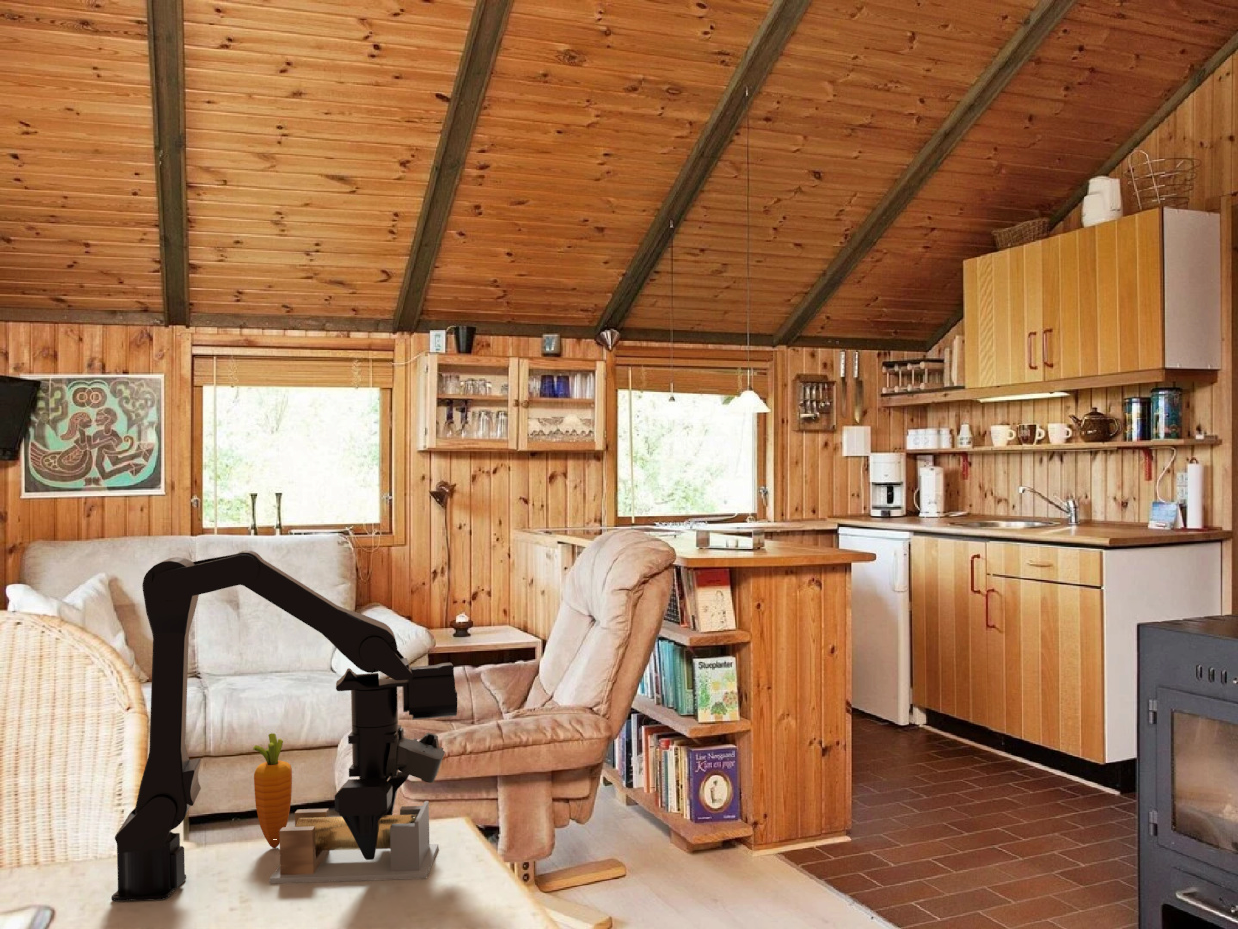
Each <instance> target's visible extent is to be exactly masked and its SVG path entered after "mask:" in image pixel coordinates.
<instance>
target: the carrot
mask: <svg viewBox="0 0 1238 929" xmlns="http://www.w3.org/2000/svg"><path fill="white" fill-rule="evenodd" d="M267 737H268V740H269V743H268V746H267V747H268V748H266V750H265V748H264V747H263V746H260V745H257V744H256V745H254V746H253V751H256V752H259V753H260V754H261V755H262V756H263V757H264V760H265V761H264V762H262V763H260V764H258V765H257V767H256V768H255V771H254V774H253V786H254V787H253V788H254V801H255V809H256V813H257V818H258V819H257V820H258V823H259V827H260V829H261V831H262V833H263V837H264V838H265V840H266V841H267V843H268V845H269V846H270V847H271V848H272V849H277V847H279V846H280V835H279V831H280V830H281V829H282V827H287V825H288V822H289V821H288V820H289V817H290V812H291V811H290V810H291V803H292V802H291V801H292V792H293V785H292V784H293V783H292V782H293V769H292V768H293V767H292V765H291V764H290V763H289V762H287V761H283V760H279V756H280V753H281V751H282V749H283V748H282V747H283V745H284V740H283V739H281V738H277V735H276V734H275V733H273V732H270V733H269V734H268V736H267ZM273 839H277V840H273Z"/></svg>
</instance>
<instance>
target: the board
mask: <svg viewBox="0 0 1238 929" xmlns="http://www.w3.org/2000/svg"><path fill="white" fill-rule="evenodd" d="M429 845H430V847H429V849H428V852H427V854H426V856H425V859H424V861H423V864H422V866H421V868H420V871H391V849H376V852H375V857H374V859H372V860H366V859H365V858H364V856H363V854H362V852H361V850H329V851H328V853H327V854H326V856H325V857H324V859H323V860H322V862H321V863H320V865H319V866H318V868H317V869H316V871H315V872H314V873H313V874H296V875H280V865H279V866H278V867H277V868H276V869H275V871H274V872H273V874H272V875H271V876H270V877H269V884H289V883H291V884H292V883H293V884H294V883H295V884H296V883H319V882H320V883H325V882H326V883H327V882H351V881H352V882H357V881H385V880H386V881H387V880H388V881H389V880H391V881H392V880H413V879H414V880H416V879H417V880H419V879H428V876H429V873H430V872H431V868H432V865H433V863H434V861H435V858H436V856H437V853H438V850H439V843H429Z"/></svg>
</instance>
